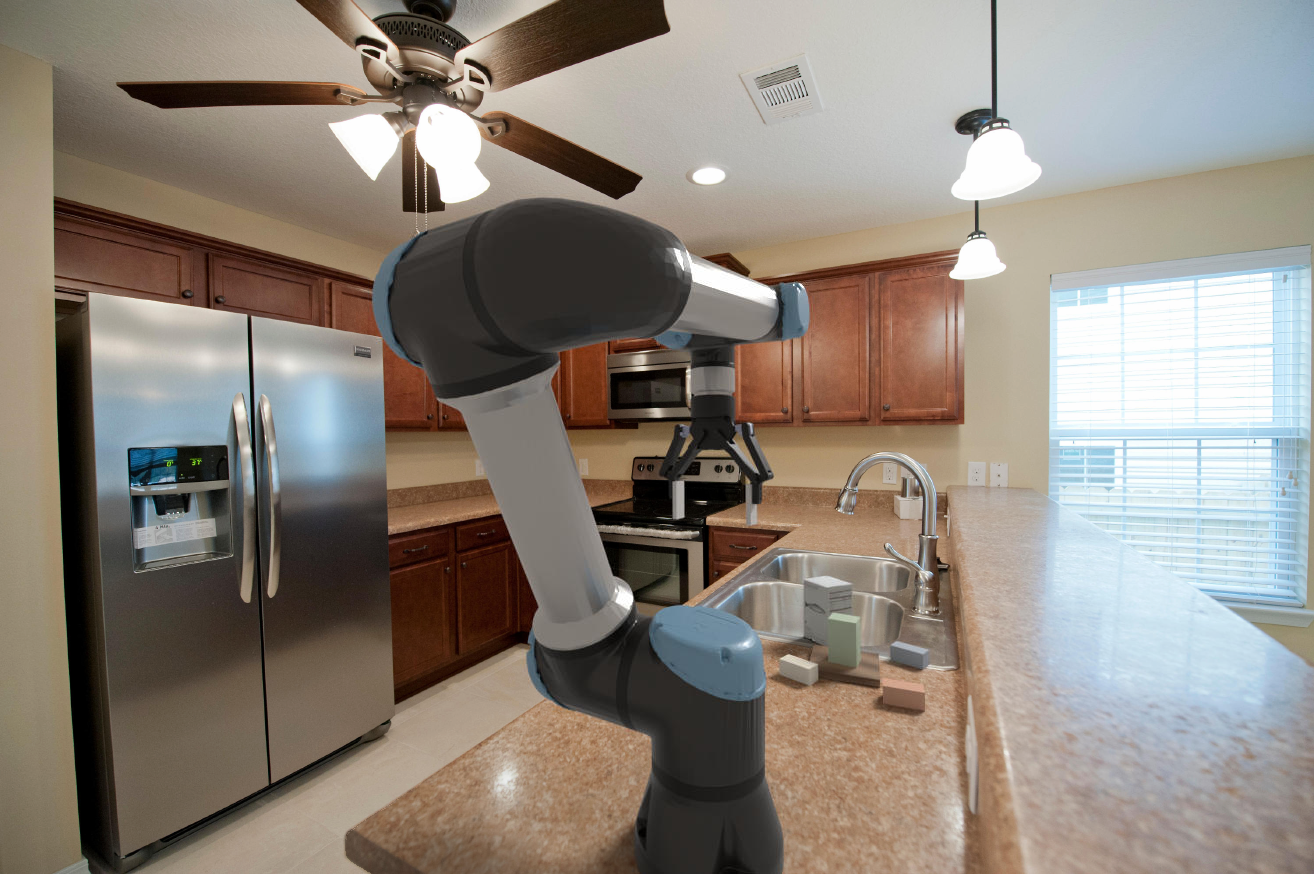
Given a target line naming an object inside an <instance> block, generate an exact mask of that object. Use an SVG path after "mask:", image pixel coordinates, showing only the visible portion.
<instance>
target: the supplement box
mask: <svg viewBox="0 0 1314 874" xmlns="http://www.w3.org/2000/svg"><path fill="white" fill-rule="evenodd" d="M853 587H854V586H853V583H851V582H847V581H844V580H841V579H839V578H835V577H833V576H829V575H822V576H815V577H809V578H808V577H807V578H804V579H803V638H807V639H808V640H810V639H813V640H815V641H814V642H815V643H816V644H818V645H821V646H828V618H829V617H830V615H831V614H832V613H839V614H845V615H851V616H854V615H853V614H854V613H853V608H854V607H853V604H854V603H853V601H854V599H853V597H854V596H853V591H854V590H853V589H854V588H853ZM813 640H812V641H813Z"/></svg>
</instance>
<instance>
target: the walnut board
mask: <svg viewBox="0 0 1314 874" xmlns="http://www.w3.org/2000/svg"><path fill="white" fill-rule="evenodd" d="M811 650H812V651H811V653H810V654H811V655H810V659H809V661H810V662H813V663H816V664H818V678H822V679H829V680H835V681H840V682H846V683H852V684H853V683H854V684H859V685H865V686H872V687H876V688H877V687H878V688H881V674H880V673H881V671H880V670H881V669H880V656H879V655H880V654H879V653H878V652H870V651H862V650H861V661H860V663H859V664H858V666H857V668H855V667H850V666H845V665H841V664H836V663H831V662H828V646H822V645H821V644H813V647H812V649H811Z"/></svg>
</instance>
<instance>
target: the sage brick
mask: <svg viewBox="0 0 1314 874" xmlns="http://www.w3.org/2000/svg"><path fill="white" fill-rule="evenodd" d="M861 630H862V629H861V616H858V615H857V616H856V615H853V616H851V615H845V614H839V613H832V614H831V615H830V617H829V618H828V662H831V663H836V664H841V665H845V666H850V667H855V668H857V666H858V664H859V663H860V661H861V651H862V650H861V649H862V645H861V644H862V641H861V639H862V637H861V636H862V635H861V634H862V633H861Z"/></svg>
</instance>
